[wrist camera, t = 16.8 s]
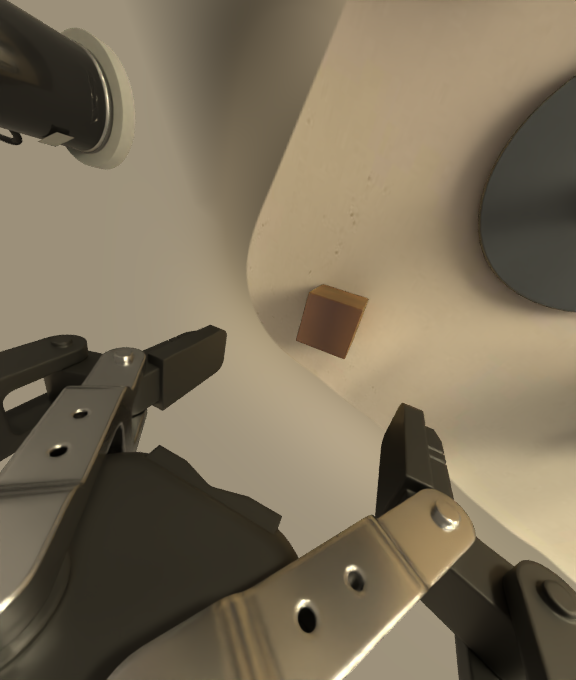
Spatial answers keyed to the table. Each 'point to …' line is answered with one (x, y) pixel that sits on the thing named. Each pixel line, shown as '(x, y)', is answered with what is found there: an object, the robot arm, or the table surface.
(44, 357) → the robot arm
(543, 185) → the lid
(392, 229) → the table surface
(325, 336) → the block
